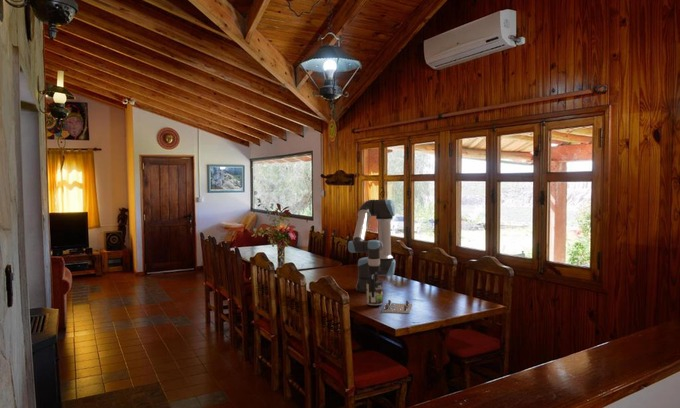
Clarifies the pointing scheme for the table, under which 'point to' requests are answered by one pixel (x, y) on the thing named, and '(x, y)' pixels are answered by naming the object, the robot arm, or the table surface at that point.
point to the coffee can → (377, 292)
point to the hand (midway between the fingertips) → (374, 299)
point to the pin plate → (397, 307)
